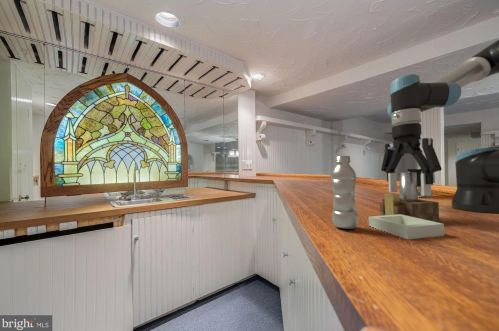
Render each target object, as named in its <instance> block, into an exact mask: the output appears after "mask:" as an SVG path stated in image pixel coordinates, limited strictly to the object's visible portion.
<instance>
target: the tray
mask: <svg viewBox="0 0 499 331" xmlns="http://www.w3.org/2000/svg"><path fill="white" fill-rule="evenodd" d="M369 226H371V227H370V228H372V227H374V228H373V229H375V228H376V229H375V230H378V229H379V231H381V230H382V231H381V232H384V231H385V232H384V233H387V232H388V233H387V234H390V233H391V234H390V235H393V236H396V237H398V236H399V238H402V239H405V240H417V239H423V238H424V239H425V238H426V239H427V238H434V237H443V236H445V224H444V223H441V222H433V221H429V220H424V219H419V218H415V217H410V216H406V215H401V214H398V215H384V216H380V215H375V216H374V215H373V216H368V227H369Z"/></svg>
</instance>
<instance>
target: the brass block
mask: <svg viewBox="0 0 499 331" xmlns="http://www.w3.org/2000/svg"><path fill="white" fill-rule="evenodd" d="M383 195H384V197H383V198H384V199H385V215H394V208H393V206H400V193H394V192H389V193H387V192H386V193H384V194H383Z"/></svg>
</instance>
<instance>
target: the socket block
mask: <svg viewBox="0 0 499 331" xmlns="http://www.w3.org/2000/svg"><path fill="white" fill-rule="evenodd" d="M381 202H382V203H379V210H380V211H379V216H384V215H385V198H382V199H381ZM393 208H394V215H398V214H401V215H406V216H410V217H415V218H419V219H424V220H429V221H433V222H438V223H440V210H439V208H440V206H439V202H438V201H432V200H425V199H418V202H405V201H400V206H393Z"/></svg>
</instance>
